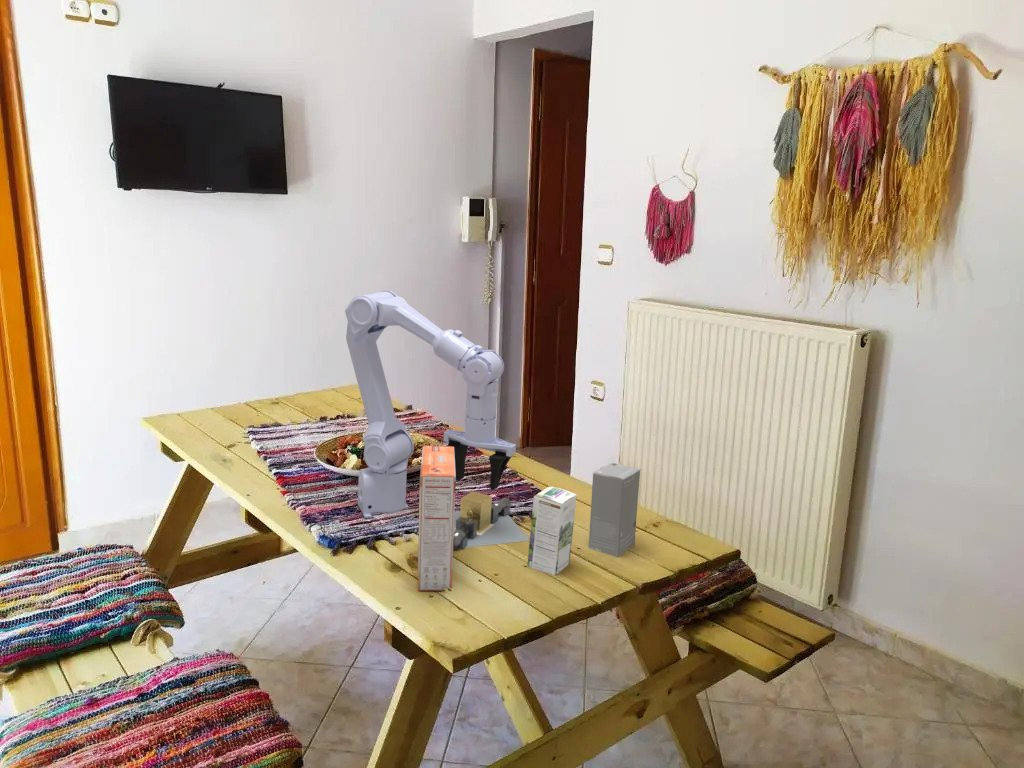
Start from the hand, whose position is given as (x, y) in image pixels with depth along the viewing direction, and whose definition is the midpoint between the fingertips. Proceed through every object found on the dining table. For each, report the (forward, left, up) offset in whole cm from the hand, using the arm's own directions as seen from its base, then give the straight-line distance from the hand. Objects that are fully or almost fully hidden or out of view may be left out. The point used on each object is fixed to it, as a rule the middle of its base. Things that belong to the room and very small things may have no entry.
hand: (476, 483), depth 153 cm
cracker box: (-12, -14, -10) cm, 21 cm away
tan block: (0, 0, -9) cm, 9 cm away
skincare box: (+23, -13, -10) cm, 28 cm away
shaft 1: (-5, -6, -9) cm, 12 cm away
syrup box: (+8, -18, -10) cm, 22 cm away
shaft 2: (+6, +4, -9) cm, 12 cm away
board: (+1, 0, -10) cm, 10 cm away
